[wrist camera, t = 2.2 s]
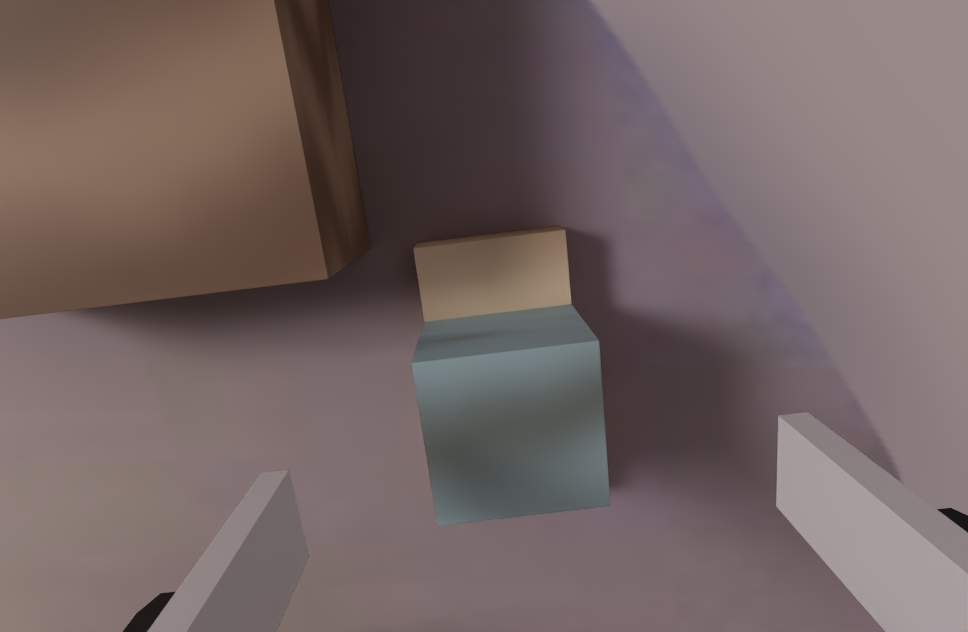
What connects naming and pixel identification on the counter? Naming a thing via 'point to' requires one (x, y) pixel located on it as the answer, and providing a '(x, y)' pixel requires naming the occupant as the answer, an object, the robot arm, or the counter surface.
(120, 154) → the dock
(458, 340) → the blue cube on tile
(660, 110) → the counter surface
